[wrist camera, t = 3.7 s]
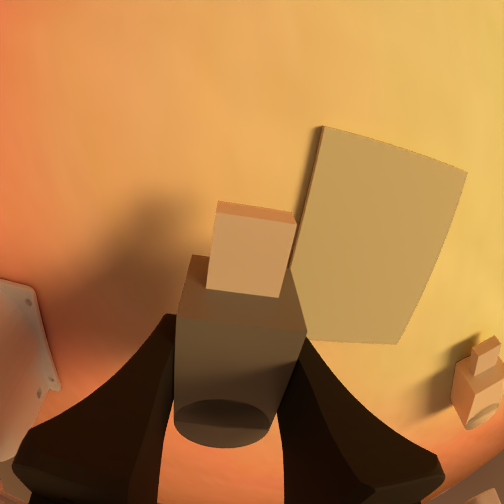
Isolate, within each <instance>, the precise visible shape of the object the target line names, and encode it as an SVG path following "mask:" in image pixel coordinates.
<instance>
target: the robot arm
mask: <svg viewBox="0 0 504 504" xmlns="http://www.w3.org/2000/svg"><path fill="white" fill-rule="evenodd" d="M29 300H30V301H31V302H30V301H29ZM176 316H177V315H174V314H165V315H164V316H163V318H162V319H161V321H160V322H159V324H158V325H157V327H156V328H155V330H154V331H153V332H152V334H151V335H150V336H149V338H148V339H147V340H146V341H145V342H144V344H143V345H142V346H141V347H140V348H139V350H138V351H137V352H136V353H135V354H134V355H133V356H132V357H131V358H130V359H129V361H128V362H127V363H126V364H125V365H124V366H123V367H122V368H121V369H120V370H119V371H118V372H117V373H116V374H115V375H113V376H112V377H111V378H110V379H109V380H108V381H107V382H105V383H104V384H103V385H102V386H101V387H99V388H98V389H97V390H95V391H94V392H93V393H92V394H90V395H89V396H88V397H86V398H85V399H83V400H82V401H80V402H79V403H77V404H76V405H74V406H72V407H71V408H69V409H68V410H66V411H64V412H63V413H61V414H59V415H58V416H56V417H54V418H52V419H50V420H48V421H46V422H44V423H41V424H39V425H37V426H35V427H33V428H32V426H33V424H34V421H35V419H36V417H37V415H38V413H39V410H40V408H41V406H42V404H43V402H44V400H45V398H46V395H47V393H48V391H49V389H50V390H53V391H56V392H59V391H60V390H61V388H62V387H61V384H60V381H59V378H58V375H57V372H56V369H55V365H54V362H53V359H52V356H51V352H50V349H49V346H48V342H47V338H46V335H45V331H44V327H43V323H42V319H41V315H40V310H39V306H38V301H37V297H36V293H35V291H34V289H33V288H32V287H30V286H27V285H23V284H19V283H15V282H12V281H8V280H4V279H0V462H1V461H5V460H8V459H10V458H12V457H13V456H15V455H16V456H15V458H14V461H13V464H12V470H13V472H14V473H15V475H16V476H17V477H18V478H19V479H20V481H22V483H23V484H24V485H25V486H26V487H27V488H28V489H29V490H30V491H31V492H32V494H31V497H30V501H29V503H27V502H24V501H22V500H20V499H18V498H16V497H14V496H12V495H10V494H8V493H5V492H4V491H3V486H2V482H1V479H0V504H157V496H158V484H159V475H160V465H161V457H162V449H163V441H164V436H165V431H166V427H167V423H168V419H169V415H170V411H171V407H172V403H173V399H174V364H175V336H176ZM277 417H278V423H279V429H280V435H281V441H282V449H283V464H284V504H421V502H420V501H421V500H422V499H424V498H425V497H426V496H428V495H429V494H430V493H432V492H433V491H434V490H436V489H437V488H438V487H439V486H440V485H441V484H442V483H443V482H444V480H445V474H444V472H443V469H442V467H441V464H440V462H439V460H438V457H437V455H436V454H434V453H432V452H430V451H428V450H426V449H424V448H422V447H420V446H418V445H416V444H414V443H413V442H411V441H409V440H408V439H406V438H405V437H403V436H401V435H400V434H398V433H397V432H395V431H394V430H393V429H391V428H390V427H388V426H387V425H386V424H384V423H383V422H382V421H381V420H379V419H378V418H377V417H376V416H374V415H373V414H372V413H371V412H370V411H369V410H367V409H366V408H365V407H364V406H363V405H362V404H361V403H360V402H359V401H358V400H357V399H356V398H355V397H354V396H353V395H352V394H351V393H350V392H349V391H348V390H347V389H346V388H345V386H344V385H343V384H342V383H341V382H340V381H339V380H338V378H337V377H336V376H335V375H334V374H333V372H332V371H331V370H330V368H329V367H328V366H327V365H326V363H325V362H324V361H323V359H322V358H321V356H320V355H319V354H318V352H317V351H316V349H315V348H314V347H313V345H312V344H311V342H310V341H309V339H308V338H307V337H305V340H304V343H303V346H302V348H301V351H300V354H299V356H298V359H297V362H296V364H295V367H294V370H293V372H292V375H291V377H290V380H289V382H288V385H287V388H286V390H285V393H284V395H283V398H282V400H281V402H280V405H279V407H278V410H277ZM464 504H501V503H500V500H499V498H498V495H497V493H496V490H495V489H494V488H492V489H490V490H488V491H486V492H483V493H481V494H479V495H477V496H475V497H473V498H471V499H470V500H468V501H466V502H465V503H464Z"/></svg>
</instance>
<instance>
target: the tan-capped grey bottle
mask: <svg viewBox="0 0 504 504" xmlns="http://www.w3.org/2000/svg"><path fill="white" fill-rule="evenodd" d="M296 227H297V223H296V221H295V219H294V216H293V214H292V212H287V211H281V210H275V209H269V208H263V207H256V206H250V205H243V204H237V203H230V202H223V201H218V204H217V210H216V216H215V223H214V230H213V237H212V244H211V252H210V257H205V256H198V255H192V258H191V262H190V265H189V269H188V273H187V277H186V280H185V284H184V288H183V292H182V296H181V300H180V304H179V308H178V312H177V316H176V336H175V364H174V425H175V427H176V429H177V431H178V432H179V433H180V434H181V435H182V436H184V437H185V438H187V439H188V440H190V441H192V442H195V443H197V444H200V445H204V446H208V447H214V448H236V447H242V446H246V445H250V444H252V443H255V442H257V441H259V440H260V439H262V438H263V437H264V436H265V435H266V434H267V433H268V431H269V429H270V426H271V424H272V422H273V419H274V417H275V415H276V412H277V410H278V407H279V405H280V402H281V400H282V398H283V395H284V393H285V390H286V388H287V385H288V382H289V380H290V377H291V375H292V372H293V370H294V367H295V364H296V362H297V359H298V356H299V354H300V351H301V348H302V346H303V343H304V340H305V337H306V335H307V332H308V331H307V328H306V324H305V320H304V316H303V313H302V309H301V305H300V302H299V298H298V294H297V291H296V287H295V283H294V280H293V276H292V273H291V269H290V268H286V267H287V263H288V259H289V255H290V252H291V248H292V244H293V240H294V235H295V231H296Z"/></svg>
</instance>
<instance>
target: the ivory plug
mask: <svg viewBox="0 0 504 504" xmlns="http://www.w3.org/2000/svg"><path fill="white" fill-rule="evenodd" d="M500 347H501V343H500V342H499V340H498V339H497V338H496V337H495V335H494V336H493V337H491V338H489V339H487V340H485V341H484V342H482V343H480V344H478V345H476V346H474V347H472V350H471V355H470V356H469V357H467V358H465V359H463V360H461V361H459V362H457V363H456V366H455V373H454V379H453V384H452V390H451V395H450V400H451V402H452V404H453V406H454V407H455V409H456V411H457V413H458V415H459V417H460V419H461V421H462V423H463V425H464V427H465V429H466V430H470V429H473V428H476V427H478V426H479V425H481V424H483V423H484V422H485V421H487V420H488V419H489V418H490V417H491V416H492V415H493V414H494V413H495V412H496V410H497V408H498V406H499V404H500V401H501V399H502V397H503V394H504V363H503V362H502V360H501V359H500V357H499V356H498V355H499V351H500Z"/></svg>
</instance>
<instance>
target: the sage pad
mask: <svg viewBox="0 0 504 504" xmlns="http://www.w3.org/2000/svg"><path fill="white" fill-rule="evenodd" d="M467 173H468V172H466V171H464V170H461V169H459V168H456V167H454V166H451V165H448V164H446V163H443V162H441V161H438V160H435V159H432V158H430V157H427V156H424V155H421V154H418V153H415V152H412V151H409V150H406V149H403V148H400V147H397V146H394V145H391V144H388V143H384V142H381V141H378V140H374V139H371V138H368V137H364V136H360V135H357V134H353V133H350V132H346V131H342V130H338V129H334V128H330V127H326V126H322V131H321V135H320V140H319V144H318V149H317V153H316V158H315V162H314V166H313V171H312V175H311V179H310V184H309V188H308V192H307V196H306V200H305V205H304V209H303V213H302V217H301V221H300V225H299V229H298V233H297V237H296V241H295V245H294V249H293V253H292V256H291V260H290V264H289V268H290V269H291V273H292V276H293V280H294V283H295V287H296V291H297V294H298V298H299V302H300V305H301V309H302V313H303V316H304V320H305V324H306V328H307V331H308V332H307V335H306V337H307V338H308V339H309V340H319V341H333V342H350V343H370V344H397V343H398V342H399V340H400V338H401V336H402V334H403V332H404V330H405V328H406V326H407V324H408V322H409V320H410V318H411V316H412V314H413V312H414V310H415V308H416V306H417V304H418V302H419V300H420V298H421V296H422V293H423V291H424V289H425V287H426V285H427V282H428V280H429V278H430V276H431V273H432V271H433V269H434V266H435V264H436V261H437V259H438V257H439V254H440V252H441V249H442V247H443V244H444V241H445V239H446V236H447V233H448V231H449V228H450V225H451V223H452V220H453V217H454V214H455V211H456V208H457V205H458V202H459V199H460V196H461V193H462V189H463V186H464V183H465V180H466V176H467Z"/></svg>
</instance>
